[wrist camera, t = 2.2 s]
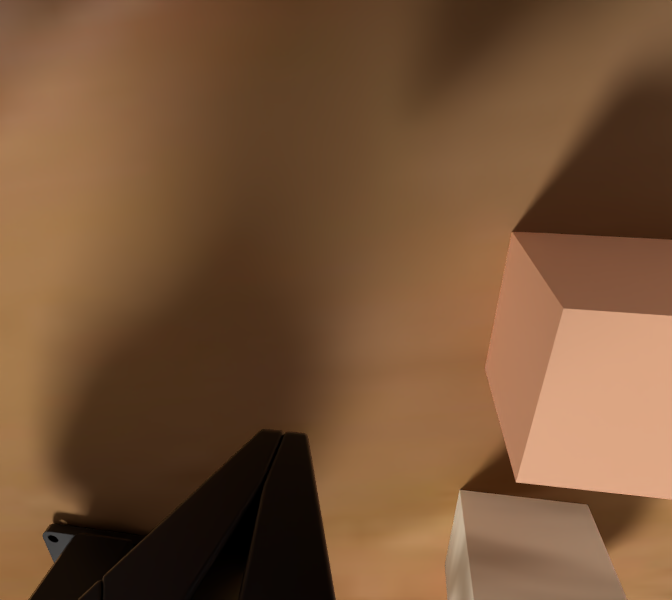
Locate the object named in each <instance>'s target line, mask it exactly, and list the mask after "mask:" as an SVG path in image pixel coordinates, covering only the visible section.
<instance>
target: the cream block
mask: <svg viewBox="0 0 672 600" xmlns="http://www.w3.org/2000/svg"><path fill="white" fill-rule="evenodd" d="M445 574H446V586H447V599H448V600H627V598H626V595H625V593H624V591H623V588H622V586H621V583H620V581H619V579H618V576H617V574H616V571H615V569H614V567H613V564H612V562H611V559H610V557H609V555H608V552H607V550H606V547H605V545H604V543H603V540H602V538H601V535H600V533H599V531H598V528H597V526H596V523H595V521H594V519H593V516H592V514H591V511H590V509H589V507H588V505H586V504H578V503H569V502H560V501H552V500H543V499H535V498H526V497H517V496H509V495H500V494H492V493H483V492H474V491H466V490H460V491H459V496H458V501H457V506H456V511H455V516H454V521H453V526H452V531H451V536H450V541H449V546H448V551H447V556H446V561H445Z"/></svg>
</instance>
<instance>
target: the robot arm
mask: <svg viewBox="0 0 672 600" xmlns="http://www.w3.org/2000/svg"><path fill="white" fill-rule="evenodd" d="M43 539H44V541H45V543H46V545H47V548H48V550H49V552H50V554H51V557H52V559H53V561H54V564H53V566H52V567H51V568H50V570H49V571H48V573H47V574H46V575H45V577H44V578H43V580H42V581H41V583H40V584H39V585H38V587H37V588H36V590H35V591H34V592H33V594H32V595H31V597H30V598H29V600H336V598H335V592H334V587H333V581H332V575H331V569H330V563H329V557H328V551H327V546H326V540H325V534H324V528H323V522H322V516H321V510H320V504H319V499H318V493H317V487H316V481H315V475H314V469H313V463H312V457H311V452H310V446H309V440H308V436H307V434H305V433H298V432H286V433H285V434H284V432H283V431H279V430H270V429H263V430H261V431H260V432H258V433H257V434H256V435H255V436H254V437H253V438H252V439H251V440H250V441H249V442H248V443H246V444H245V445H244V446H243V447H242V448H241V449H240V450H239V451H238V452H237V453H236V454H235V455H234V456H232V457H231V458H230V459H229V460H228V461H227V462H226V463H225V464H224V465H223V466H222V467H221V468H220V469H218V470H217V471H216V472H215V473H214V474H213V475H212V476H211V477H210V478H209V479H208V480H207V481H205V482H204V483H203V484H202V485H201V486H200V487H199V488H198V489H197V490H196V491H195V492H194V493H193V494H191V495H190V496H189V497H188V498H187V499H186V500H185V501H184V502H183V503H182V504H181V505H180V506H178V507H177V508H176V509H175V510H174V511H173V512H172V513H171V514H170V515H169V516H168V517H167V518H166V519H164V520H163V521H162V522H161V523H160V524H159V525H158V526H157V527H156V528H155V529H154V530H153V531H151V532H150V533H149V534H148V535H147V536H139V535H132V534H125V533H118V532H111V531H103V530H96V529H89V528H82V527H75V526H68V525H60V524H51V525H49V527H48V528H47V529H46V531H45V532H44V533H43Z"/></svg>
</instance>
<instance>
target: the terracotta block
mask: <svg viewBox="0 0 672 600" xmlns="http://www.w3.org/2000/svg"><path fill="white" fill-rule="evenodd" d="M485 371H486V374H487V378H488V382H489V385H490V389H491V393H492V396H493V400H494V404H495V407H496V411H497V415H498V418H499V422H500V426H501V429H502V433H503V437H504V440H505V444H506V448H507V451H508V455H509V459H510V462H511V466H512V470H513V473H514V477H515V481H516V482H518V483H527V484H536V485H545V486H554V487H563V488H572V489H581V490H590V491H599V492H608V493H617V494H626V495H636V496H645V497H654V498H663V499H672V240H669V239H650V238H630V237H610V236H591V235H571V234H552V233H532V232H512V234H511V239H510V244H509V249H508V254H507V259H506V264H505V269H504V274H503V279H502V284H501V289H500V294H499V300H498V305H497V310H496V315H495V320H494V325H493V330H492V335H491V340H490V345H489V350H488V355H487V360H486V365H485Z"/></svg>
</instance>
